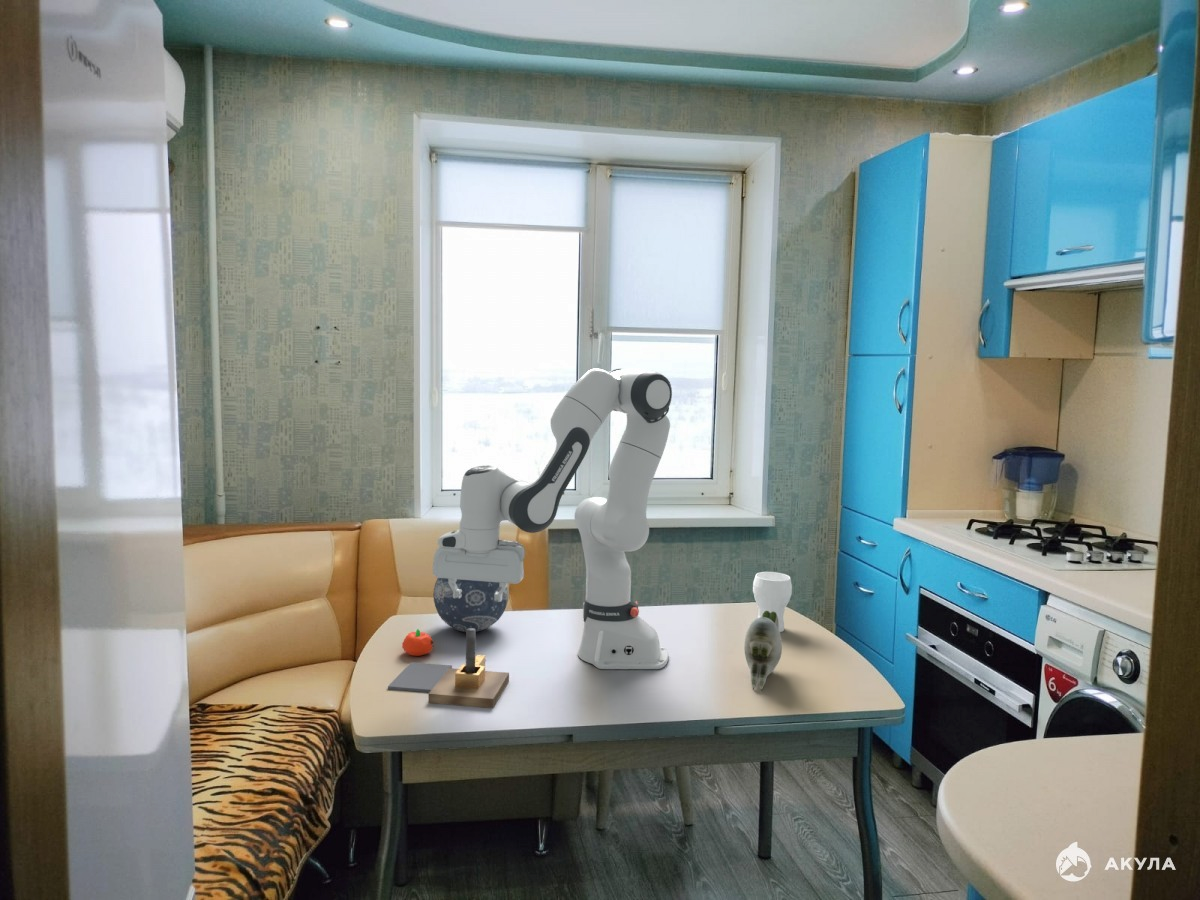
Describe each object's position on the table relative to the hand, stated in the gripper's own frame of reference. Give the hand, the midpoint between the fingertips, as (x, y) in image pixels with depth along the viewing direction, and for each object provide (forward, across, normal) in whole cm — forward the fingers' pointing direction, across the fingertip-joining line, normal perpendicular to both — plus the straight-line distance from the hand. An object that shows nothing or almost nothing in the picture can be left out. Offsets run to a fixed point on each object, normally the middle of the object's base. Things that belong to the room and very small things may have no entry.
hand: (477, 599), depth 173 cm
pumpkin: (+19, +18, -13) cm, 30 cm away
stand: (+19, 0, +6) cm, 20 cm away
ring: (+17, 0, +3) cm, 17 cm away
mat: (+19, +12, +1) cm, 23 cm away
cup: (+18, -70, -50) cm, 88 cm away
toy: (+18, -66, -16) cm, 70 cm away
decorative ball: (+19, +10, -32) cm, 39 cm away
